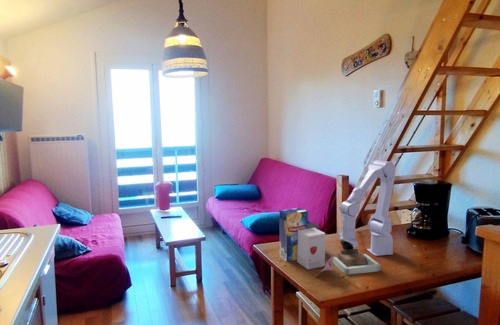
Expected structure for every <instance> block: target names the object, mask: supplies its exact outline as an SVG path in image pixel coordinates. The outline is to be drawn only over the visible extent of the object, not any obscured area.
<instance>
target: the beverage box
mask: <svg viewBox="0 0 500 325" xmlns="http://www.w3.org/2000/svg"><path fill="white" fill-rule="evenodd" d="M308 218H309V211H308V210H307V209H304V208H301V207H294V208H286V209H281V210H280V209H279V243H278V244H279V245H278V246H279V258H282V260H284V261H285V262H287V263H288V262H291V261H297V250H298V230H303V229H308V223H309V219H308Z"/></svg>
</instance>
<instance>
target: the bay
mask: <svg viewBox="0 0 500 325" xmlns="http://www.w3.org/2000/svg"><path fill="white" fill-rule="evenodd" d="M362 254H363V255H364V256H365V257H367V261H368V264H367V265H363V266H353V267H347V266H345V265H344V264H343V263H342V262H341V261H340V260H339V259H338V258H337V257H338V256H333V257H334V258H333V257H332V258H333V259H332V264H333V265H335V266H336V268H338V269H339V270H340V272H342V273H343V274H344V275H346V276H347V275H354V274H365V273H374V272H375V273H376V272H381V271H382V265H381V264H380V263H379V262H377V261H376V260H375V259H373V258H372V257H371V256H369V255H368V254H367V253H362Z"/></svg>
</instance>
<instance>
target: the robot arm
mask: <svg viewBox="0 0 500 325" xmlns="http://www.w3.org/2000/svg"><path fill="white" fill-rule="evenodd" d="M367 166H368V167H367V168H368V171H366V172H367V173H366V174H365V176H364V178H363V179H362V181H361V183H360V184H359V185H358V186H357V187H355V188H353V190H352V192H351V193H350V195H349V196H348V197H347V199H346V200H344V201H343V202H341V204H340V207H339V211H340V212H341V217H342V218H341V220H342V221H341V231H339V233H338V236H339V240H340V244H341V246H342V250H348V249H355V248H358V247H359V243H358V241H357V239H356V215H357V214H358V213H359V212H360V206H361V204H362V202H363V200H364V199H365V197H366V196H367V192H366V191H367V190H368V189H369V188H370V186H371V185H372V184H373V183H374V181H375V180H376V179H380V180H381V181H380V187H379V192H378V196H377V197H378V198H377V203H376V208H375V213H373V214H371V215H370V219H369V221H367V229H368V230H369V233H370V248H366V250H367V251H368V252H369V253H370V254H372V255H374V256H375V257H376V256H377V257H378V256H379V257H381V256H387V255H389V256H390V255H394V252H393V251H394V250H393V249H394V239H393V236H392V234H391V233H392V228H393V227H392V220H391V218H390V217H389V211H390V210H389V209H390V206H391V205H390V204H391V199H392V198H391V197H392V194H393V188H394V183H395V175H396V174H395V173H396V169H397V167H396V165H395V163H393V161H390V160H389V161H388V160H381V159H375V158H374V159H373V160H371V161H370V164H369V165H367Z"/></svg>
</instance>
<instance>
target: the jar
mask: <svg viewBox="0 0 500 325" xmlns="http://www.w3.org/2000/svg"><path fill="white" fill-rule="evenodd" d="M310 228H316V229H318V230H320V225H319V224H318V223H314V222H308V229H310Z"/></svg>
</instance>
